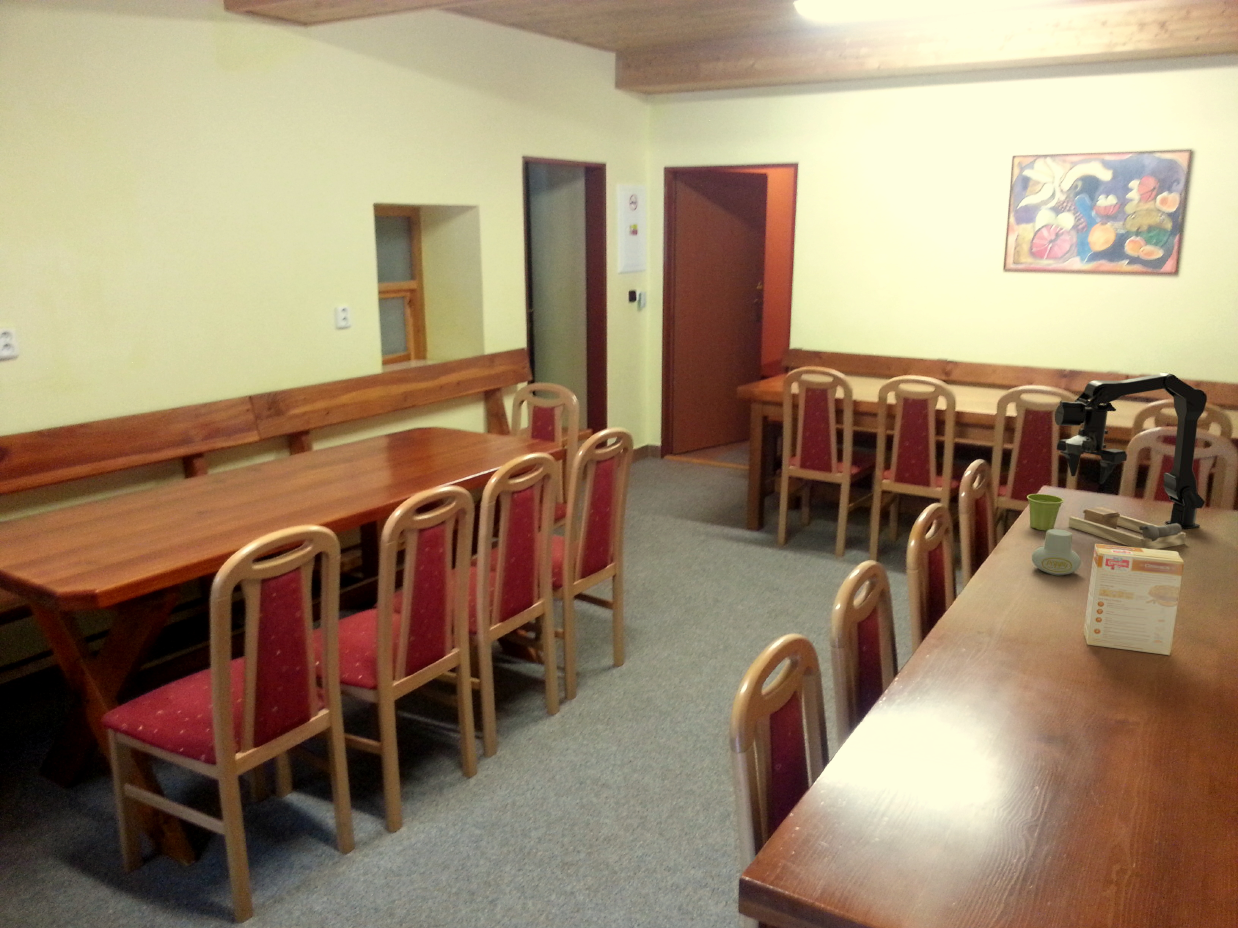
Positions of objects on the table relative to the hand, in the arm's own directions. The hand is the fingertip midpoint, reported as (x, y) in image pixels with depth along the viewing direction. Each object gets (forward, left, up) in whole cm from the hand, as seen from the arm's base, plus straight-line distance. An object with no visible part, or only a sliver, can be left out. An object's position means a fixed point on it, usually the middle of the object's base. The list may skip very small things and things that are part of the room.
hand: (1087, 479), depth 272 cm
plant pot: (+14, -1, -13) cm, 20 cm away
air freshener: (+41, +27, -13) cm, 51 cm away
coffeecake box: (+64, +64, -13) cm, 92 cm away
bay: (-2, +13, -13) cm, 18 cm away
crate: (-2, +5, -13) cm, 14 cm away
